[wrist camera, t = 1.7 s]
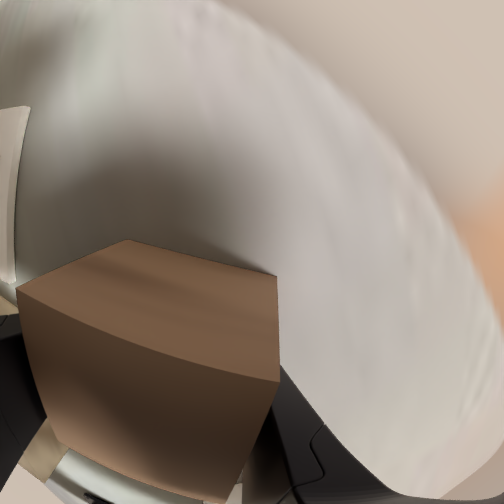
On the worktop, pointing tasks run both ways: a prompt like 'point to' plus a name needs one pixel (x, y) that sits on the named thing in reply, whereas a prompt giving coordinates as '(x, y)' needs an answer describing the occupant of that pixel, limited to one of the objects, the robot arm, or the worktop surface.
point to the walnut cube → (155, 363)
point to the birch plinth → (38, 435)
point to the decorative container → (233, 496)
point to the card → (9, 182)
